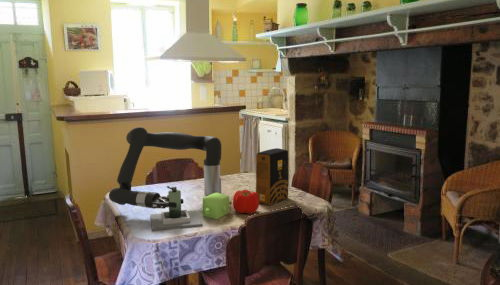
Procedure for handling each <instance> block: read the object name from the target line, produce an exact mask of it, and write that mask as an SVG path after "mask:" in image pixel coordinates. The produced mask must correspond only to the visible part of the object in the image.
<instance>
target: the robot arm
mask: <svg viewBox="0 0 500 285" xmlns="http://www.w3.org/2000/svg"><path fill="white" fill-rule="evenodd" d="M126 142H127V143H128V144H129V146H128V147H129V148H128V150H127V154H126V156H125V158H124V160H123V162H122V163H121V166H120V169H119V172H118V175H117V179H116V182H117V184H118V185H119V187H115V188H113V189H110V191H109V192H108V193H109V194H108V198H109V200H110V201H111V202H112V203H115V204H116V205H117V204H118V205H121V206H124V205H126V204H127V205H130V206H132V207H141V208H147V209H152V210H153V209H155V210H156V209H163V210H164V209H166V208H168V209H169V207H173V208H176V207H177V203H174V202H169V197H168V194H167V195H166V196H165V195H162V196H161V195H160V193H159V192H154V191H146V190H145V191H141V190H139V191H138V190H132V182H133V179H134V175H135V172H136V168H137V165H138V161H139V159H140V156H141V153H142V151H143V149H144V148H145V147H152V148H153V147H154V148H159V149H160V148H161V149H169V150H176V151H177V150H178V151H180V150H181V151H182V150H183V151H185V150H199V151H202V152H204V151H205V158H204V159H203V183H204V184H203V185H204V186H203V187H204V188H203V189H204V195H205V196H208V195H210V194H213V193H221V194H222V177H221V159H222V142H221V139H219V138H218V137H215V136H212V135H191V134H188V133H181V132H173V131H165V132H148V131H147V129H145V128H144V127H142V126H136V127H134V128H132V129H130V130H129V132H127V134H126ZM183 204H184V198H181V205H183Z"/></svg>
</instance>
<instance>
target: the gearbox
mask: <svg viewBox="0 0 500 285" xmlns="http://www.w3.org/2000/svg"><path fill="white" fill-rule="evenodd" d="M231 205H233V200H230V196H229V195H228V194H226V193H225V194H224V193H222V192H221V193H213V194H210V195H205V196H204V197H202V216H203V217H206V218H209V219H214V220H218V219H220V218H222V217H223V216H225V215H227V214H229V213H230V206H231Z"/></svg>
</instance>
